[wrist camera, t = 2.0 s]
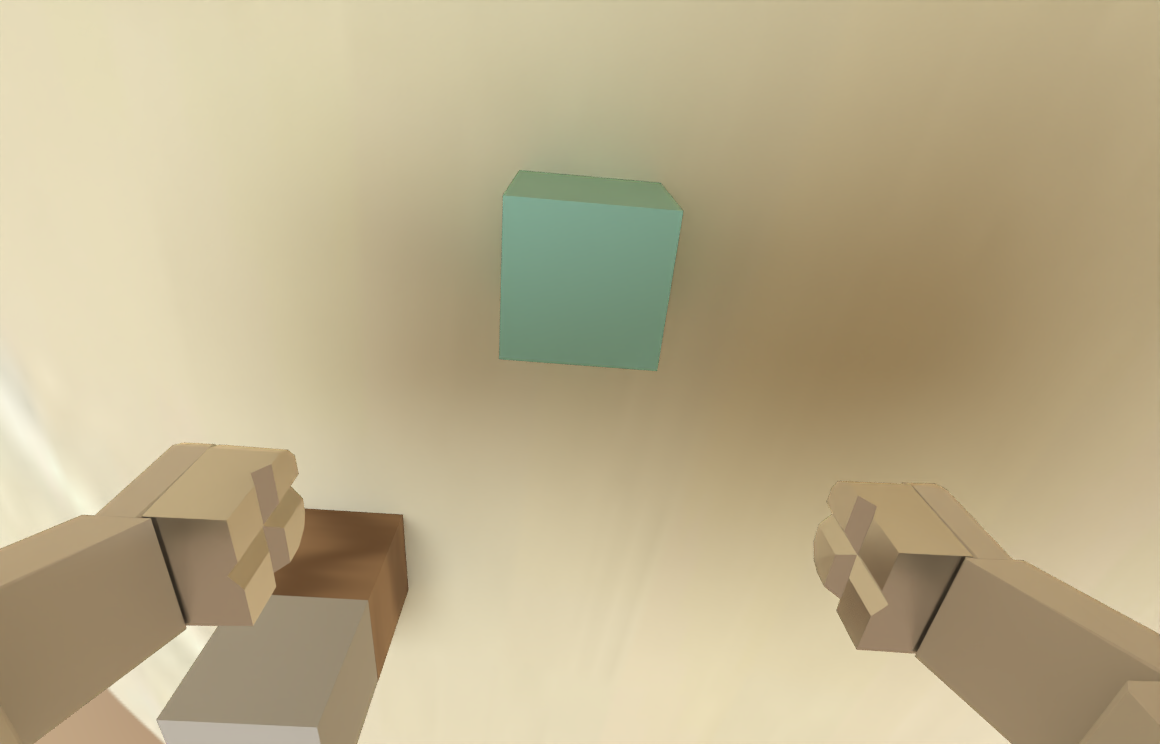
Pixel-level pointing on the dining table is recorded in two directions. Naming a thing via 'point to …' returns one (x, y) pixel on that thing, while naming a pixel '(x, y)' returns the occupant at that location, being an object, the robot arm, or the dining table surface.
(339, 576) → the walnut base block
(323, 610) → the grey mid block
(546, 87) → the dining table surface
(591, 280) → the teal cube
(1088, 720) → the robot arm
